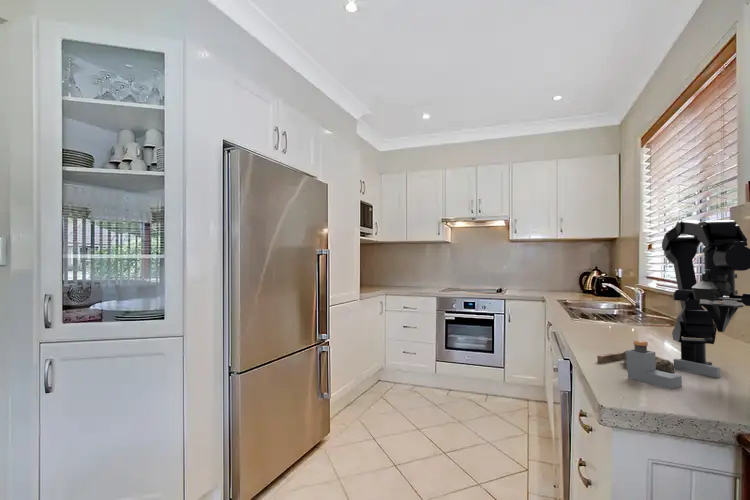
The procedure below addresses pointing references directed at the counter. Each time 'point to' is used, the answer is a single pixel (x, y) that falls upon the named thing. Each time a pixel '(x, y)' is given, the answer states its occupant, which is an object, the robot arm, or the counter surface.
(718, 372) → the bay
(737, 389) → the counter surface
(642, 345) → the plunger
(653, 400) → the counter surface
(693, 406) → the counter surface
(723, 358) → the counter surface
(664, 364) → the rock
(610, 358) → the bar
